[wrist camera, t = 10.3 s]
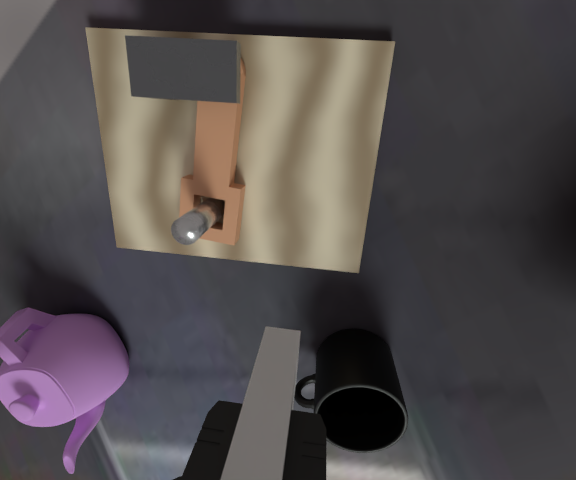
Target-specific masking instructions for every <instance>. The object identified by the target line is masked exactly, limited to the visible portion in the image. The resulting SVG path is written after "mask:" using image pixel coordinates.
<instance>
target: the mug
mask: <svg viewBox="0 0 576 480" xmlns="http://www.w3.org/2000/svg"><path fill="white" fill-rule="evenodd" d="M309 383H315V397H314V399H311V400H310V399H306V398H304V397H303V396H302V395H301V390H302V388H303V387H304V386H306V385H307V384H309ZM294 396H295V400H296V402H297V403H298V404H299V405H301V406H302V407H305V408H312V409H314V413H315V414H320V415H321V417H322V419H323V422H324V424H325V427H326V440H327V441H328V442H329V443H331V444H332V445H334V446H336V447H338V448H341V449H343V450H347V451H351V452H358V453H370V452H376V451H381V450H383V449H386V448H388V447H390V446H392V445H394V444H395V443H396V442H398V441H399V440H400V439H401V438H402V436H403V435H404V433H405V431H406V429H407V425H408V414H407V410H406V406H405V402H404V398H403V395H402V391H401V387H400V383H399V380H398V376H397V372H396V368H395V365H394V361H393V357H392V354H391V351H390V349H389V347H388V346H387V344H386V343H385V342H384V341H383V340H382V339H381V338H379V337H378V336H376V335H375V334H373V333H371V332H368V331H365V330H360V329H347V330H342V331H339V332H336V333H334V334H332V335H330V336H329V337H328V338H327V339H325V340H324V342H323V343H322V344H321V345H320V347H319V349H318V352H317V357H316V374H313V375H311V376H307V377H305V378H303V379H301V380H300V381H299V382H298V383H297V385H296V387H295V395H294Z"/></svg>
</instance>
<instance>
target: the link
mask: <svg viewBox="0 0 576 480" xmlns="http://www.w3.org/2000/svg"><path fill="white" fill-rule="evenodd" d="M245 78H246V69H245V65H244V63H243V61H242V59H241V64H240V104H238V103H222V102H206V101H197V118H196V135H195V152H194V170H193V175H190V174H189V175H186V176H184V177H182V178H181V190H180V213H179V218H180V217H181V216H183V215H184V214H185V213H187V212H188V211H190V210H191V209H193V208H194V207H196V206H197V205H199V204H200V203H201V196H205V197H210V198H215V199H220V200H225V209H224V220H223V223H219V222H216V223H215V224H214V225H213V226H211V227H210V228H209V229H208V230H207V231H206V232H205V233H204V234H203V235H202V236H201V237H200V238H199V239H204V240H209V241H214V242H219V243H224V244H229V245H235V244H236V243H237V241H238V240H239V236H240V228H241V220H242V211H243V203H244V195H245V187H246V185H242V184H237V183H234V181H235V172H236V162H237V153H238V144H239V134H240V125H241V115H242V106H243V97H244V87H245Z"/></svg>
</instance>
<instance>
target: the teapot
mask: <svg viewBox="0 0 576 480" xmlns="http://www.w3.org/2000/svg"><path fill="white" fill-rule="evenodd" d="M26 329H29V331H28V332H26V333H25V334H24V335H23V336H22V337H21V338H20V339H19V340H18V341H17V343H16V342H14V340H15V339H16V338H17V337H18V336H20V335H21V334H22V333H23V332H24V331H25V330H26ZM0 357H1V358H2V359H3V360H4V361H3V363H2V364H1V366H0V400H1V402H2V403H3V404H4V406H5V407H6V408H7V409H8V411H9V412H10V413H11V414H12V415H13V416H14V417H15V418H16V419H17V420H18V421H20V422H22V423H24V424H26V425H30V426H36V427H50V426H56V425H60V424H63V423H66V422H68V421H70V420H73V419H75V418H76V423H75V426H74V429H73V431H72V433H71V435H70V437H69V439H68V441H67V443H66V446H65V449H64V453H63V462H64V466H65V468H66V470H67V471H68V473H70V474H73V472H74V469H75V460H76V456H77V453H78V450H79V448H80V446H81V444H82V443H83V441H84V440H85V438H86V437H87V436H88V435H89V433H90V432H91V431H92V429H93V428H94V427H95V425H96V424H97V423H98V421H99V419H100V418H101V416H102V414H103V411H104V407H105V400H106V399H107V398H109V397H110V396H111V395H112V394H113V393H114V392H115V391H116V390H117V389H118V388H119V387H120V386H121V385H122V384H123V383H124V381H125V380H126V378H127V376H128V373H129V357H128V354H127V351H126V349H125V347H124V345H123V343H122V341H121V339H120V337H119V336H118V334H117V333H116V332H115V330H114V329H113V327H112V326H111V325H110V324H109V323H108V322H107V321H106V320H104V319H103V318H101V317H98V316H95V315H91V314H64V315H58V316H54V315H51V314H48V313H45V312H42V311H38V310H35V309H32V308H29V307H28V308H25V309H22V310H19V311H16V312H15V313H14V314H13V315H12V316H11V317H10V318H9V319H8V320H7V321H6V323H5V324H4V325H3V326H2V327H1V328H0Z"/></svg>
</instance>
